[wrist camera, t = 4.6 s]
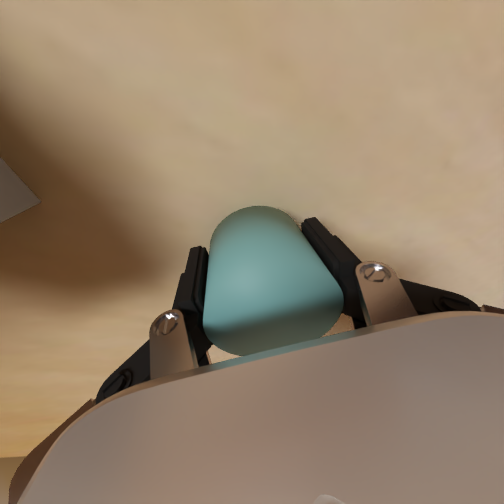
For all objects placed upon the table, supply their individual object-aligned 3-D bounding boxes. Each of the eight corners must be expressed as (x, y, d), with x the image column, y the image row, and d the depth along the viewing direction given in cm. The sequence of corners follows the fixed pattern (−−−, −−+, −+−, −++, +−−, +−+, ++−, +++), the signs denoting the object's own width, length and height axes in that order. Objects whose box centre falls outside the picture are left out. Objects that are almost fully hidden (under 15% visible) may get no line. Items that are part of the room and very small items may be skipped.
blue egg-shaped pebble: (303, 271, 13) (339, 340, 9) (225, 290, 13) (227, 367, 9) (297, 194, 10) (349, 247, 6) (195, 220, 10) (176, 290, 6)
